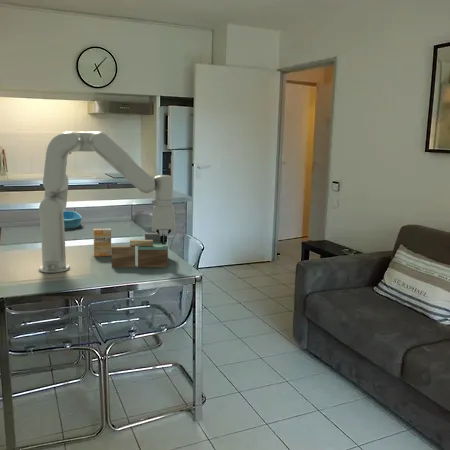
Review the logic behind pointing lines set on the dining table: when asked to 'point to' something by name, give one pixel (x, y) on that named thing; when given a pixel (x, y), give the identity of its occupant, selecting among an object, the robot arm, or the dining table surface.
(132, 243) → the tan wooden bar
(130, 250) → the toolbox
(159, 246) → the lid
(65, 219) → the casserole dish
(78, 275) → the dining table surface
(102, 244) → the supplement box
